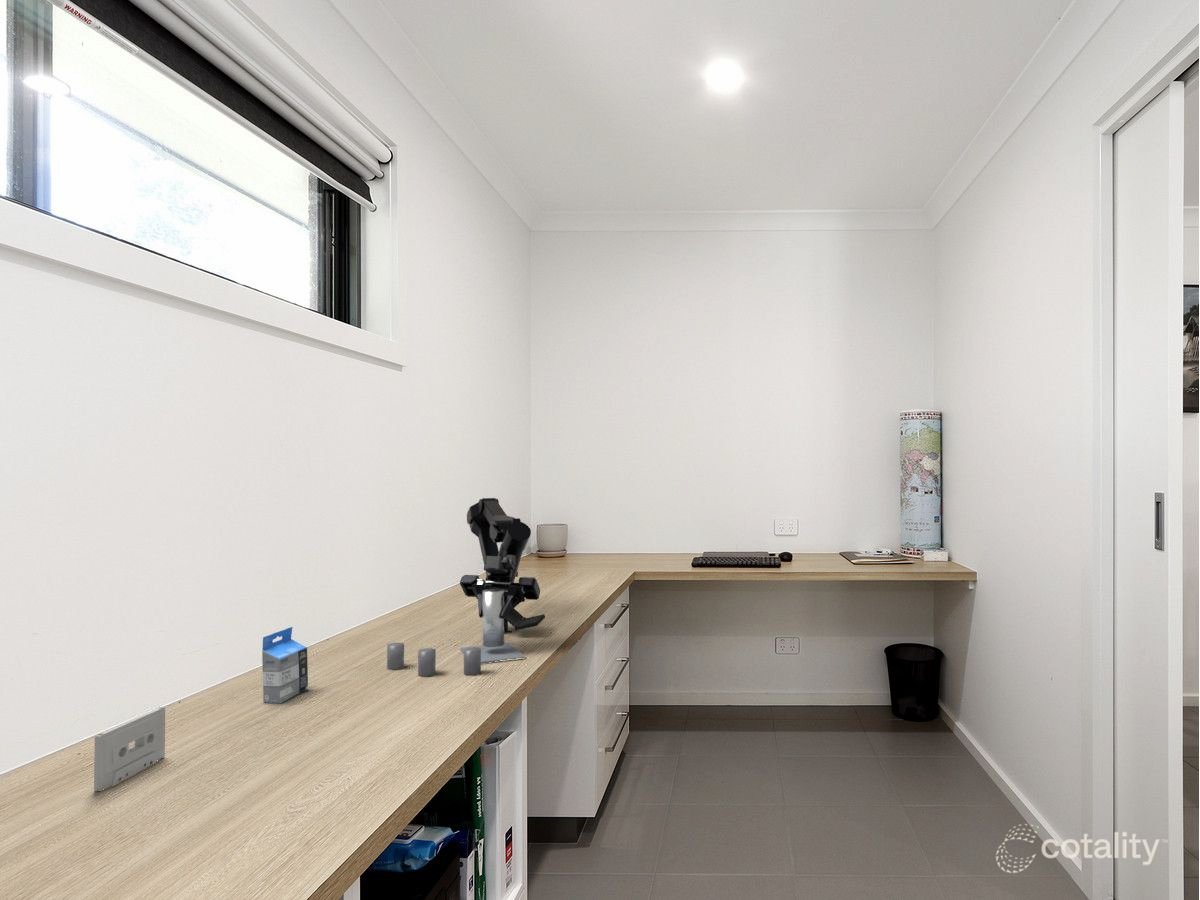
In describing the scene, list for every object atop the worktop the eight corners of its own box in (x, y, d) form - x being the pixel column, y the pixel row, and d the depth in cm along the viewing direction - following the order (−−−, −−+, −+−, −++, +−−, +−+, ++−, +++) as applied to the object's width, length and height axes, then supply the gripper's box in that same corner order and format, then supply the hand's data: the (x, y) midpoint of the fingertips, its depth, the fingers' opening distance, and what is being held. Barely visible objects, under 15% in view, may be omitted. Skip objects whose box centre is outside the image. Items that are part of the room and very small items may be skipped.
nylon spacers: (392, 664, 160) (392, 642, 160) (483, 671, 155) (483, 647, 155) (376, 673, 153) (376, 649, 154) (470, 680, 148) (470, 655, 148)
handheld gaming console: (534, 636, 183) (537, 622, 183) (495, 625, 185) (498, 611, 185) (542, 627, 194) (546, 614, 194) (505, 616, 195) (508, 604, 195)
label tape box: (280, 704, 134) (280, 637, 134) (261, 703, 135) (261, 636, 135) (308, 689, 142) (309, 627, 143) (290, 688, 143) (290, 626, 143)
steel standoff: (480, 643, 170) (479, 589, 170) (501, 640, 172) (500, 588, 172) (485, 648, 165) (485, 593, 166) (506, 645, 167) (506, 591, 168)
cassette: (157, 756, 110) (157, 706, 110) (168, 757, 110) (168, 706, 110) (90, 792, 98) (90, 735, 98) (102, 793, 98) (103, 736, 98)
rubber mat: (460, 649, 173) (460, 647, 173) (508, 644, 177) (508, 642, 177) (473, 664, 160) (473, 662, 160) (525, 659, 164) (525, 656, 164)
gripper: (462, 541, 175) (443, 595, 164) (536, 543, 171) (521, 599, 160) (475, 569, 182) (457, 622, 172) (546, 571, 178) (532, 626, 167)
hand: (491, 617), depth 167 cm, fingers closed on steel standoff, 5 cm apart
